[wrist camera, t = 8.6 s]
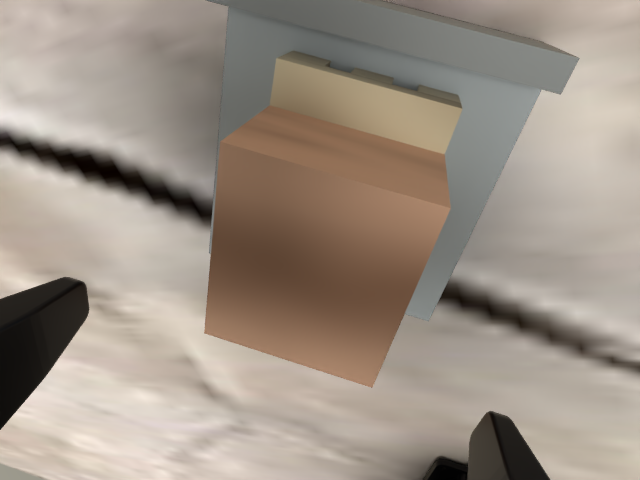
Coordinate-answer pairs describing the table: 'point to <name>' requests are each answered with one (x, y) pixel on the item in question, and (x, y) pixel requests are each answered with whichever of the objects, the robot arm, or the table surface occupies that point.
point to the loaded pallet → (328, 215)
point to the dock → (409, 72)
